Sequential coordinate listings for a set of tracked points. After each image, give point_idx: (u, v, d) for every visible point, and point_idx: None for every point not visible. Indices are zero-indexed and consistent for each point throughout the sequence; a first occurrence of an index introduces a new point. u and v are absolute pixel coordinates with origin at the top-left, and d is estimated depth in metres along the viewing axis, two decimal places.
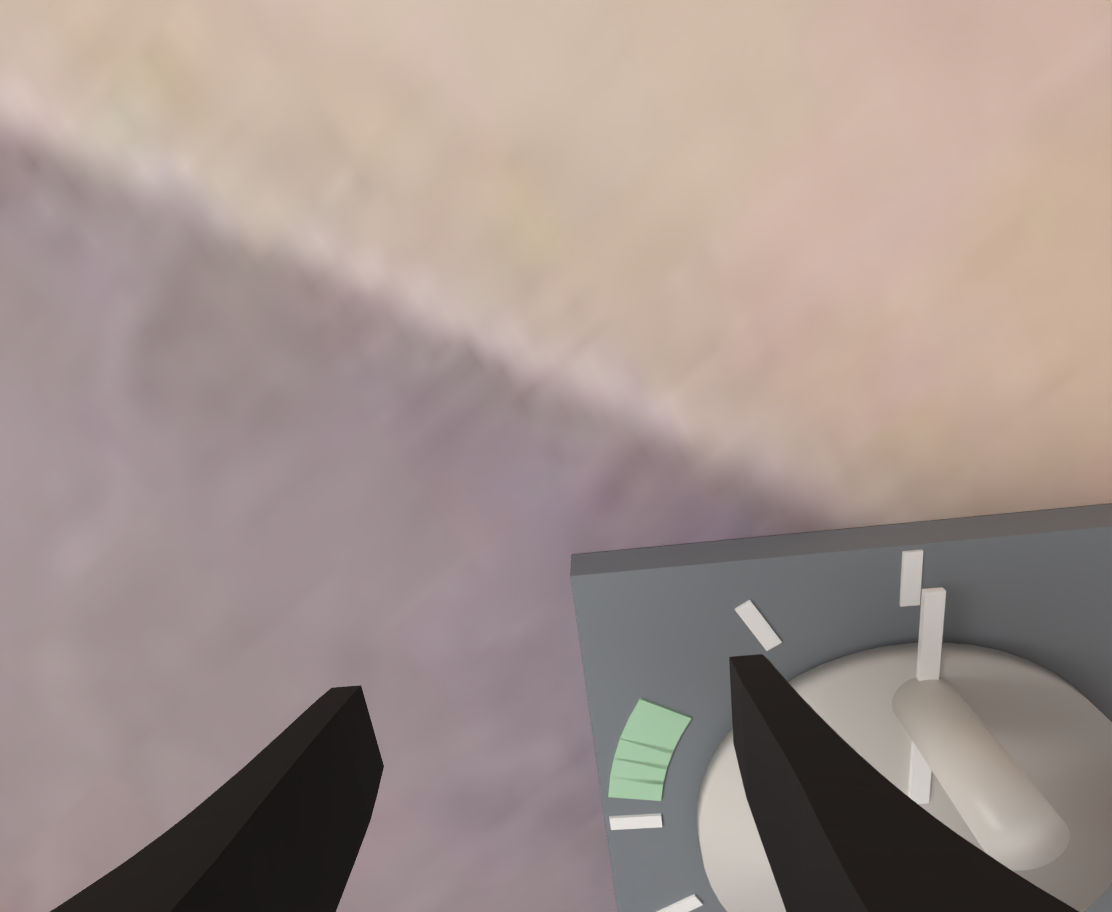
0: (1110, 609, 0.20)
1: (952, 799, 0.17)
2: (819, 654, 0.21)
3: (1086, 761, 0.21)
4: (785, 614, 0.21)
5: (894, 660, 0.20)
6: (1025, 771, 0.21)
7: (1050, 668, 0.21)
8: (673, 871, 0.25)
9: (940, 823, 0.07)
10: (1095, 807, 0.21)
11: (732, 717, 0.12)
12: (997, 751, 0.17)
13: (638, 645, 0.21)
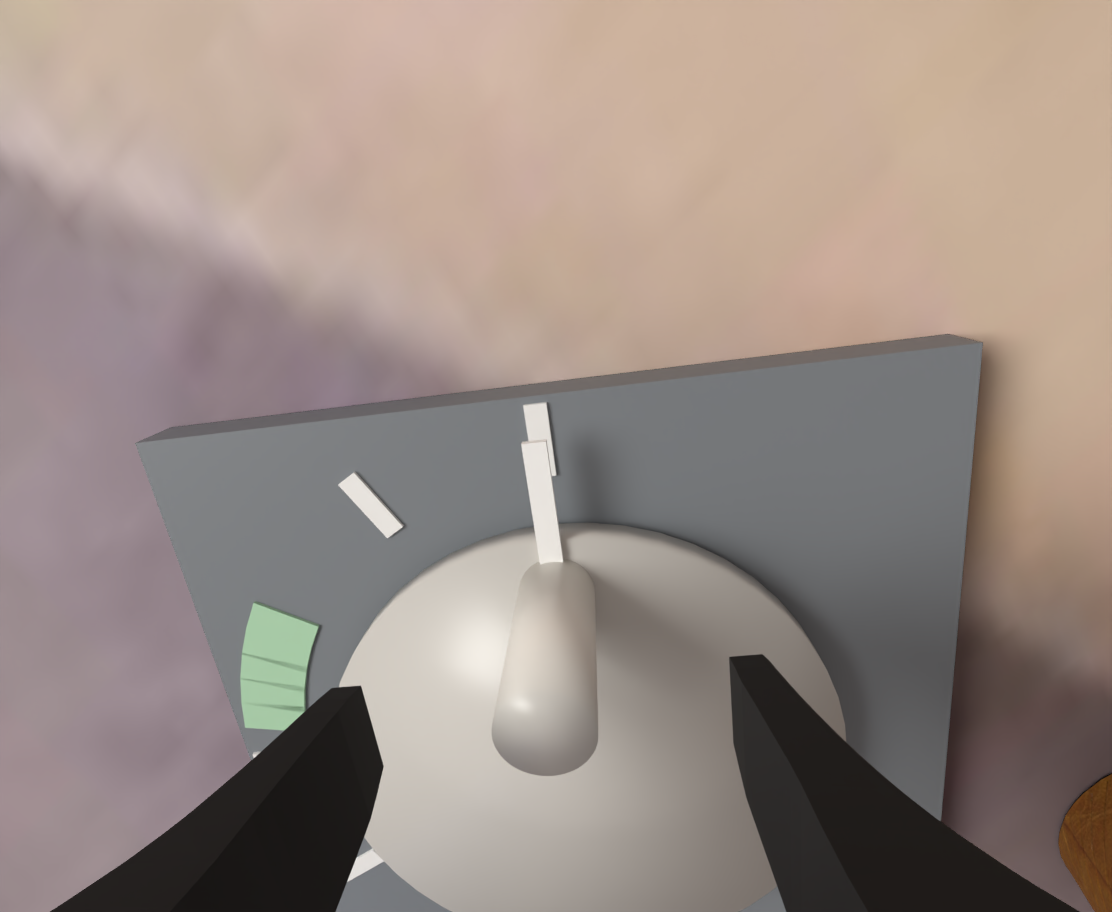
0: (788, 479, 0.16)
1: None
2: (452, 542, 0.17)
3: None
4: (401, 490, 0.17)
5: (517, 541, 0.16)
6: (697, 683, 0.17)
7: (730, 558, 0.17)
8: None
9: (940, 823, 0.07)
10: None
11: (732, 717, 0.12)
12: (560, 629, 0.13)
13: (236, 533, 0.18)
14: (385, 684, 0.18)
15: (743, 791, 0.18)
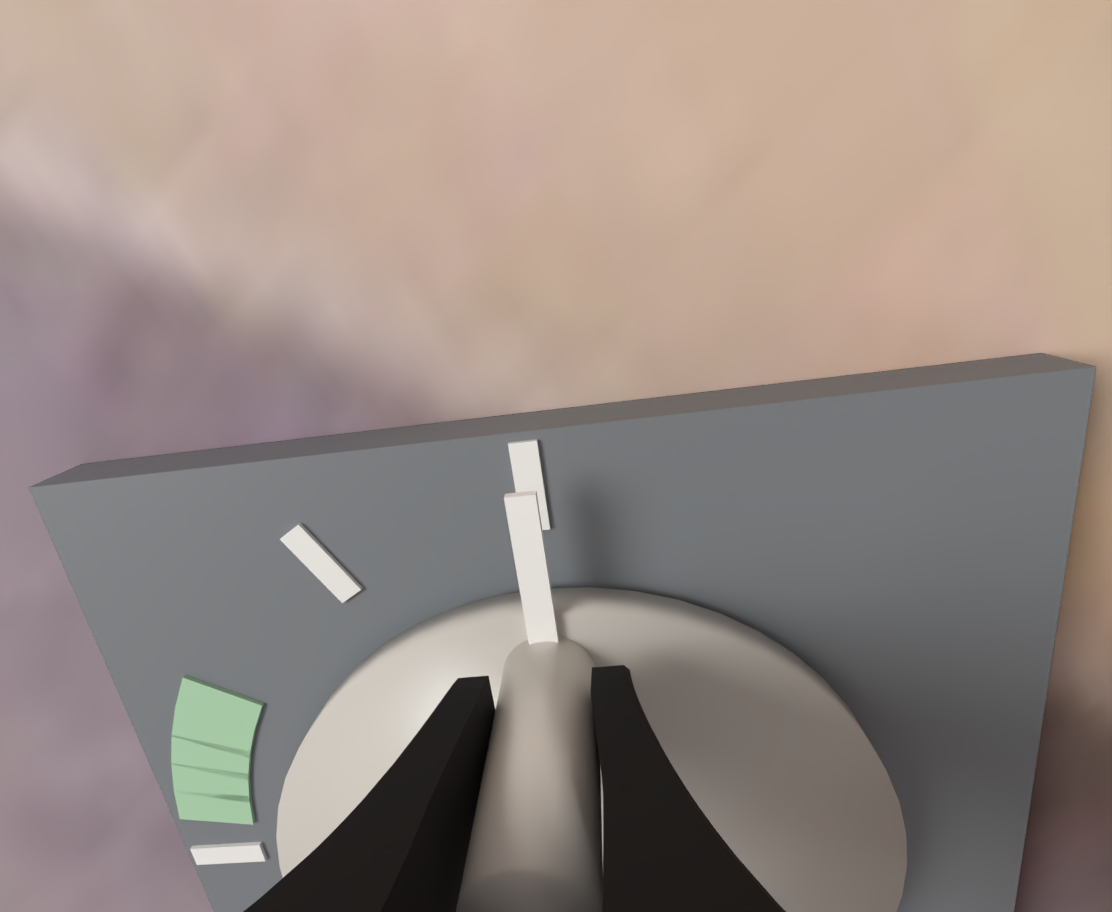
0: (840, 535, 0.13)
1: None
2: (423, 608, 0.14)
3: (811, 769, 0.14)
4: (358, 546, 0.14)
5: (501, 613, 0.13)
6: (725, 784, 0.14)
7: (765, 628, 0.14)
8: None
9: (714, 835, 0.07)
10: (837, 838, 0.14)
11: None
12: (553, 754, 0.10)
13: (158, 595, 0.14)
14: (340, 781, 0.14)
15: None
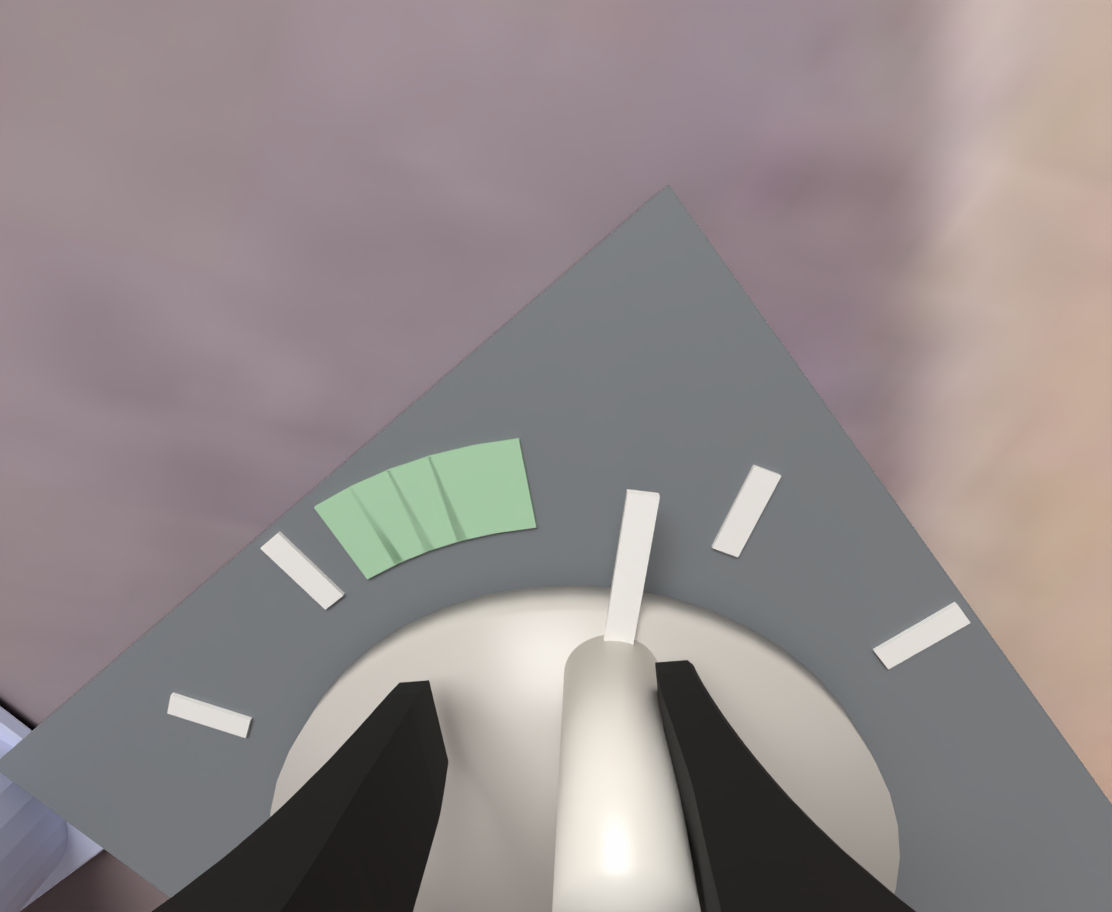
0: (979, 841, 0.16)
1: (556, 827, 0.10)
2: (743, 611, 0.14)
3: (830, 812, 0.14)
4: (781, 533, 0.13)
5: (579, 604, 0.13)
6: None
7: None
8: (263, 670, 0.15)
9: (817, 829, 0.07)
10: None
11: None
12: (649, 759, 0.10)
13: (608, 374, 0.12)
14: None
15: None
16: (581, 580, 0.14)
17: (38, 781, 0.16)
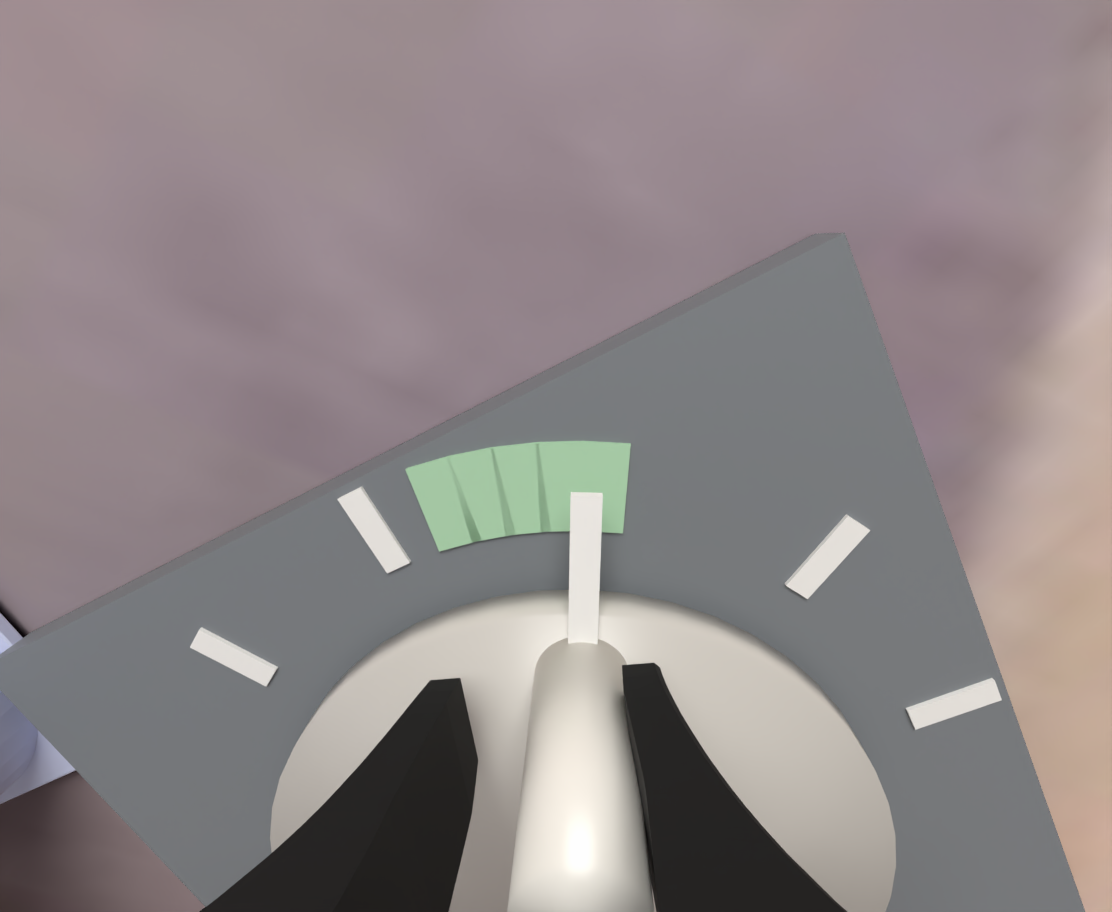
0: (950, 902, 0.17)
1: None
2: (797, 651, 0.14)
3: (818, 794, 0.14)
4: (853, 584, 0.14)
5: (542, 609, 0.13)
6: None
7: None
8: (304, 622, 0.14)
9: (763, 832, 0.07)
10: (830, 863, 0.15)
11: None
12: (604, 757, 0.10)
13: (734, 400, 0.12)
14: (349, 758, 0.14)
15: None
16: (651, 592, 0.14)
17: (27, 693, 0.16)
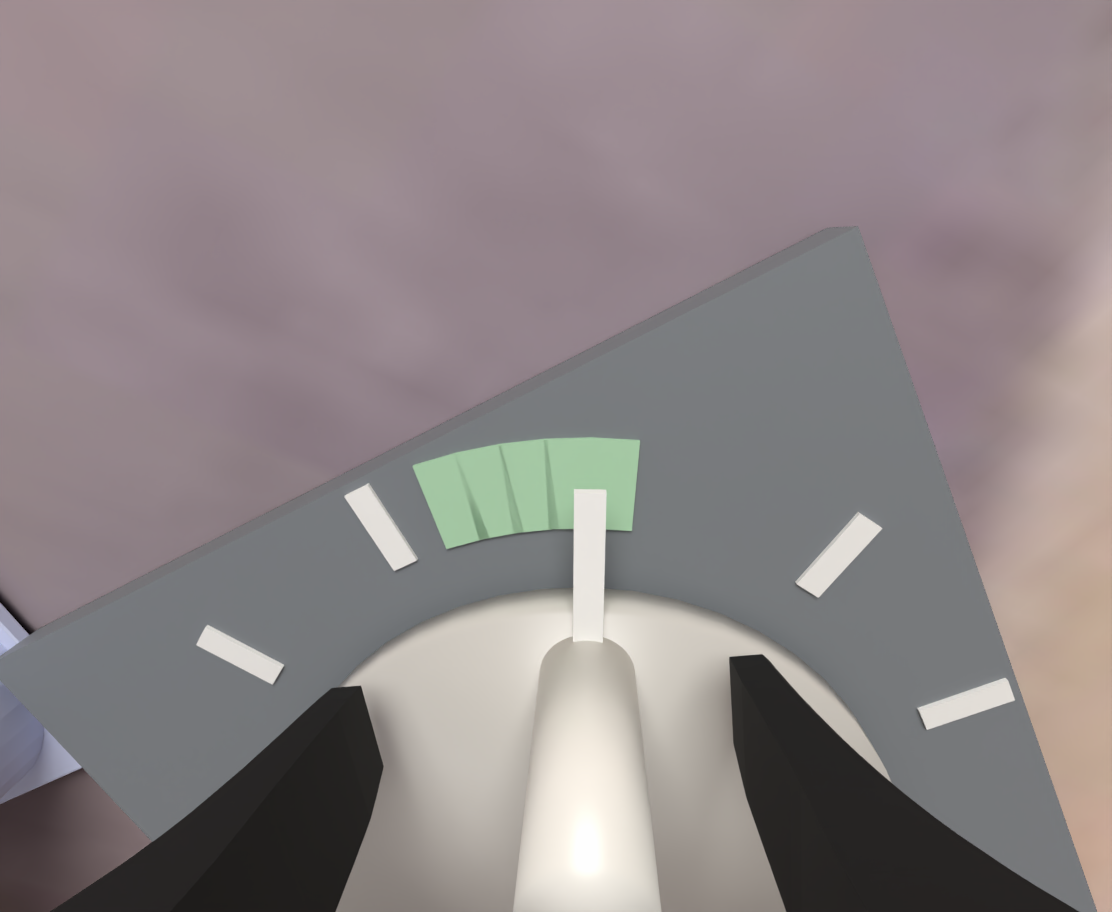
0: None
1: None
2: (807, 650, 0.14)
3: None
4: (865, 582, 0.13)
5: (546, 607, 0.13)
6: (740, 799, 0.14)
7: None
8: (310, 620, 0.14)
9: (940, 823, 0.07)
10: None
11: (732, 717, 0.12)
12: (610, 757, 0.10)
13: (745, 396, 0.12)
14: None
15: None
16: (660, 591, 0.14)
17: (33, 690, 0.15)
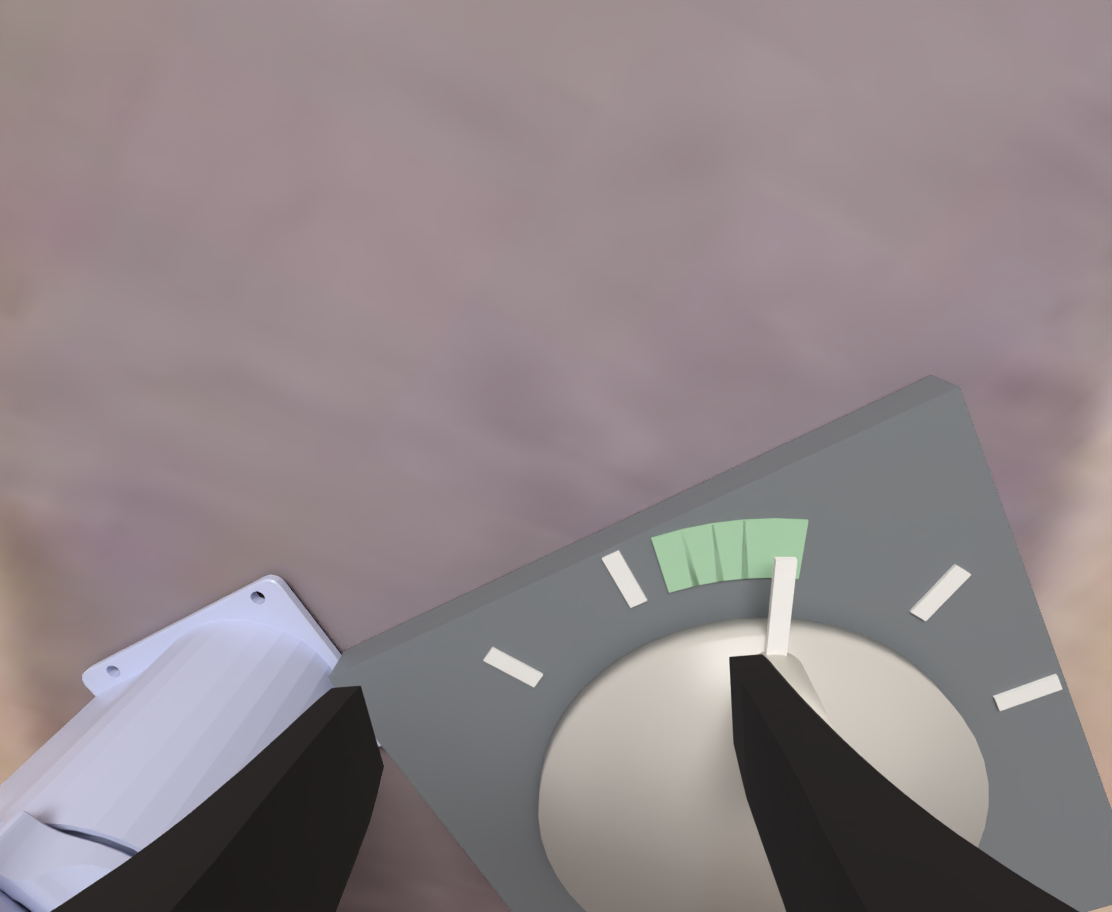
0: (1022, 838, 0.23)
1: None
2: (916, 657, 0.20)
3: (934, 755, 0.20)
4: (958, 610, 0.20)
5: (745, 632, 0.19)
6: (872, 761, 0.20)
7: None
8: (566, 642, 0.21)
9: (939, 823, 0.07)
10: (941, 805, 0.21)
11: (732, 717, 0.12)
12: None
13: (880, 491, 0.18)
14: (603, 737, 0.20)
15: None
16: (815, 618, 0.20)
17: None
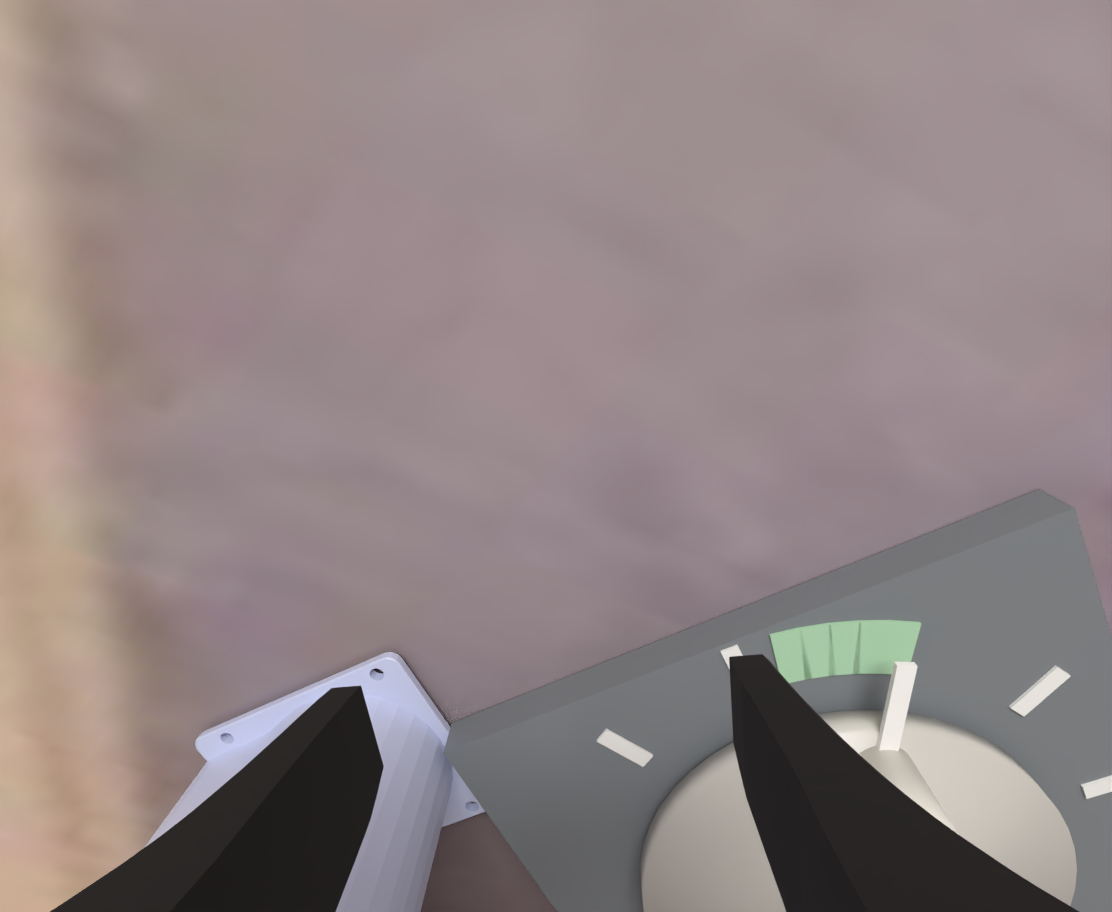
0: None
1: None
2: (1011, 748, 0.21)
3: (1028, 843, 0.21)
4: (1054, 707, 0.21)
5: (857, 726, 0.20)
6: None
7: None
8: (678, 726, 0.22)
9: (940, 823, 0.07)
10: None
11: (732, 717, 0.12)
12: None
13: (991, 598, 0.19)
14: (713, 819, 0.21)
15: None
16: (918, 711, 0.21)
17: (471, 768, 0.23)
